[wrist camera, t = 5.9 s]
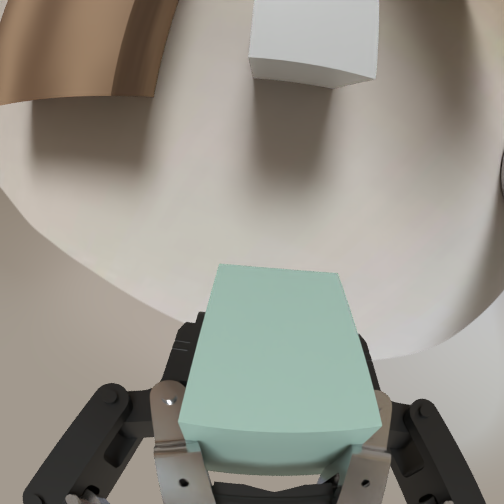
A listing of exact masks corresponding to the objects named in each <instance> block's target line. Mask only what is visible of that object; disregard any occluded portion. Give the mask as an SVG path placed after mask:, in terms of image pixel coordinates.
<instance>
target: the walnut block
mask: <svg viewBox="0 0 504 504" xmlns="http://www.w3.org/2000/svg"><path fill="white" fill-rule="evenodd" d="M178 1H179V0H8V2H7V5H6V7H5V10H4V13H3V16H2V19H1V22H0V105H5V104H10V103H16V102H23V101H30V100H38V99H48V98H59V97H75V96H144V97H154V92H155V87H156V82H157V78H158V73H159V68H160V64H161V60H162V56H163V52H164V48H165V44H166V40H167V37H168V33H169V30H170V26H171V23H172V19H173V16H174V13H175V10H176V7H177V4H178Z"/></svg>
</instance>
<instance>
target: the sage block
mask: <svg viewBox="0 0 504 504" xmlns="http://www.w3.org/2000/svg"><path fill="white" fill-rule="evenodd" d="M178 423H179V426H180V428H181V431H182V433H183V436H184V438H185V440H192V441H199V445H200V448H201V451H202V455H203V458H204V460H205V463H206V467H207V470H208V471H216V472H224V473H234V474H247V475H269V476H270V475H271V476H275V475H276V476H290V475H291V476H292V475H314V474H321V473H322V471H323V470H324V468H325V467H326V466H327V465H328V464H329V463H333V462H334V461H335V460H336V459H337V458H339V457H340V456H341V454H342V453H343V451H344V450H345V449H346V448H347V447H348V446H350V445H353V444H363V443H365V442H366V441H367V440H368V439H369V438H370V437H371V436H372V435H373V434H374V433H375V432H376V431H377V430H378V429H379V428H381V427H382V422H381V418H380V413H379V409H378V405H377V401H376V397H375V393H374V389H373V385H372V381H371V377H370V374H369V370H368V366H367V363H366V359H365V356H364V352H363V349H362V346H361V342H360V339H359V336H358V333H357V329H356V326H355V323H354V320H353V317H352V314H351V311H350V308H349V305H348V302H347V299H346V296H345V293H344V290H343V287H342V284H341V281H340V279H339V276H338V273H327V272H314V271H301V270H288V269H276V268H264V267H252V266H240V265H229V264H219V267H218V270H217V274H216V277H215V281H214V284H213V288H212V291H211V295H210V299H209V302H208V306H207V309H206V313H205V317H204V320H203V324H202V328H201V332H200V335H199V339H198V343H197V347H196V351H195V354H194V358H193V362H192V366H191V370H190V374H189V378H188V382H187V386H186V390H185V394H184V398H183V402H182V406H181V410H180V415H179V419H178Z"/></svg>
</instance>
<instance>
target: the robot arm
mask: <svg viewBox="0 0 504 504" xmlns="http://www.w3.org/2000/svg"><path fill="white" fill-rule="evenodd" d="M501 182H502V192H503V197H504V156H503V162H502V173H501ZM205 313H206V312H199V313H198V316H197V319H196V323H190V322H186V323H185V324H184V325H183V326H182V327H181V328H180V329H179V330H178V333H177V335H176V339H175V342H174V344H173V347H172V350H171V353H170V356H169V359H168V362H167V365H166V368H165V371H164V374H163V377H162V379H161V381H160V382H159V383H158V384H156V385H155V386H154V387H153V388H151V389H148V390H143V391H126V390H125V388H124V387H122V386H121V385H119V384H114V383H109V384H105V385H103V386H101V387H100V388H99V389H98V390H97V391H96V392H95V394H94V395H93V396H92V397H91V399H90V400H89V401H88V403H87V404H86V405H85V407H84V408H83V409H82V411H81V412H80V413H79V415H78V416H77V417H76V419H75V420H74V421H73V423H72V424H71V425H70V427H69V428H68V429H67V431H66V432H65V433H64V435H63V436H62V438H61V439H60V440H59V442H58V443H57V444H56V446H55V447H54V449H53V450H52V451H51V453H50V454H49V456H48V457H47V459H46V460H45V461H44V463H43V464H42V465H41V467H40V468H39V470H38V471H37V473H36V474H35V476H34V477H33V479H32V480H31V481H30V483H29V485H28V486H27V487H26V489H25V491H24V493H23V503H24V504H110V503H109V502H108V501H107V500H106V498H107V497H108V495H109V493H110V492H111V490H112V489H113V487H114V485H115V484H116V482H117V480H118V479H119V477H120V476H121V474H122V472H123V471H124V469H125V467H126V466H127V464H128V462H129V461H130V459H131V458H132V456H133V454H134V453H135V451H136V449H137V448H138V446H139V444H140V443H141V441H142V439H143V438H144V437H155V447H154V459H155V465H156V470H157V476H158V481H159V486H160V490H161V495H162V498H163V503H164V504H381V503H382V499H383V495H384V491H385V487H386V483H387V478H388V474H389V469H390V466H391V468H392V470H393V472H394V475H395V477H396V479H397V481H398V484H399V486H400V488H401V490H402V492H403V495H404V497H405V500H406V502H407V504H486V503H485V500H484V498H483V496H482V494H481V492H480V489H479V487H478V485H477V483H476V481H475V479H474V477H473V475H472V473H471V470H470V469H469V466H468V465H467V463H466V461H465V459H464V457H463V455H462V453H461V451H460V449H459V447H458V445H457V444H456V442H455V440H454V439H453V436H452V435H451V433H450V431H449V429H448V427H447V426H446V424H445V422H444V421H443V419H442V417H441V415H440V414H439V412H438V411H437V409H436V407H435V406H434V404H433V403H432V402H430V401H429V400H426V399H418V400H416V401H415V402H413V403H412V404H411V405H406V404H401V403H396V402H392V401H391V400H390V398H389V397H388V395H386V394H385V393H383V392H382V391H381V390H380V387H379V384H378V380H377V376H376V373H375V369H374V366H373V363H372V361H371V360H372V359H371V356H370V354H369V350H368V346H367V343H366V342H365V340H364V339H363V338H362V337H361V335H360V334H358V336H359V339H360V342H361V346H362V349H363V352H364V356H365V359H366V363H367V366H368V370H369V374H370V377H371V381H372V385H373V389H374V393H375V397H376V401H377V405H378V409H379V413H380V418H381V422H382V427H381V428H379V429H378V430H377V431H376V432H375V433H374V434H373V435H372V436H371V437H370V438H369V439H368V440H367V441H366V442H365V443H363V444H353V445H350V446H348V447H347V448H346V449H345V450H344V451H343V453H342V454H341V456H340V457H339V458H337V459H336V460H335V461H334V462H333V463H329V464H328V465H327V466H326V467H325V468H324V470H323V471H322V473H321V475H320V477H319V479H318V482H317V484H313V485H303V486H299V487H295V488H291V489H287V490H283V491H278V492H271V491H267V490H263V489H259V488H255V487H251V486H248V485H244V484H232V483H223V482H214V485H213V486H212V484H211V480H210V477H209V474H208V470H207V467H206V463H205V460H204V458H203V455H202V451H201V448H200V445H199V441H192V440H185V438H184V436H183V433H182V431H181V428H180V426H179V423H178V419H179V415H180V410H181V406H182V402H183V398H184V394H185V390H186V386H187V382H188V378H189V374H190V370H191V366H192V362H193V358H194V354H195V351H196V347H197V343H198V339H199V335H200V332H201V328H202V324H203V320H204V317H205Z"/></svg>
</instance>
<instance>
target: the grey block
mask: <svg viewBox="0 0 504 504" xmlns="http://www.w3.org/2000/svg"><path fill="white" fill-rule="evenodd" d="M378 37H379V0H254V7H253V17H252V26H251V36H250V46H249V56H248V58H249V62H250V66H251V70H252V74H253V78H259V79H270V80H279V81H287V82H295V83H302V84H308V85H314V86H320V87H325V88H330V89H335V88H339V87H343V86H347V85H351V84H356V83H360V82H365V81H370V80H375V79H376V70H377V56H378Z"/></svg>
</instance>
